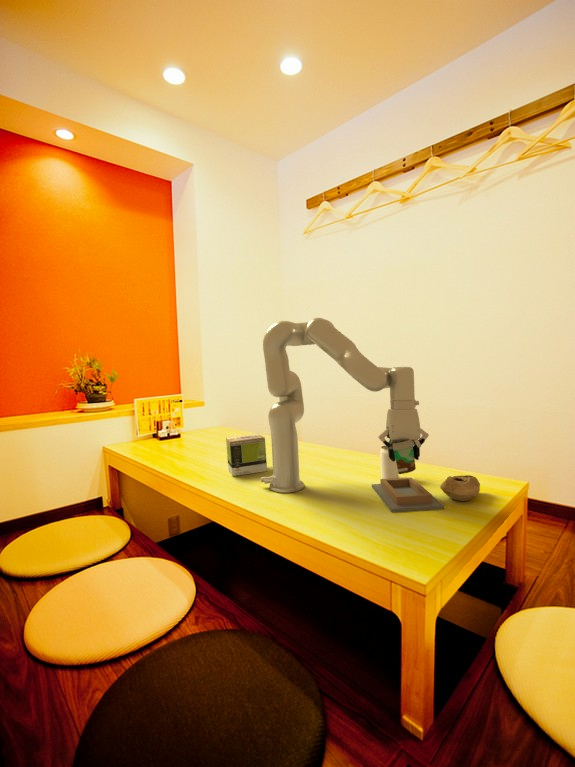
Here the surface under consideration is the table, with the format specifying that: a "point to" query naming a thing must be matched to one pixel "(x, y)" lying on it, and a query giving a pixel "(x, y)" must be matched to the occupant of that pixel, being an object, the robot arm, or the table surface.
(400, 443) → the food container
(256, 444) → the tea box
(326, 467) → the table surface
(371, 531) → the table surface
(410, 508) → the tray
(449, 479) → the oil lamp
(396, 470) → the can
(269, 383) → the robot arm
